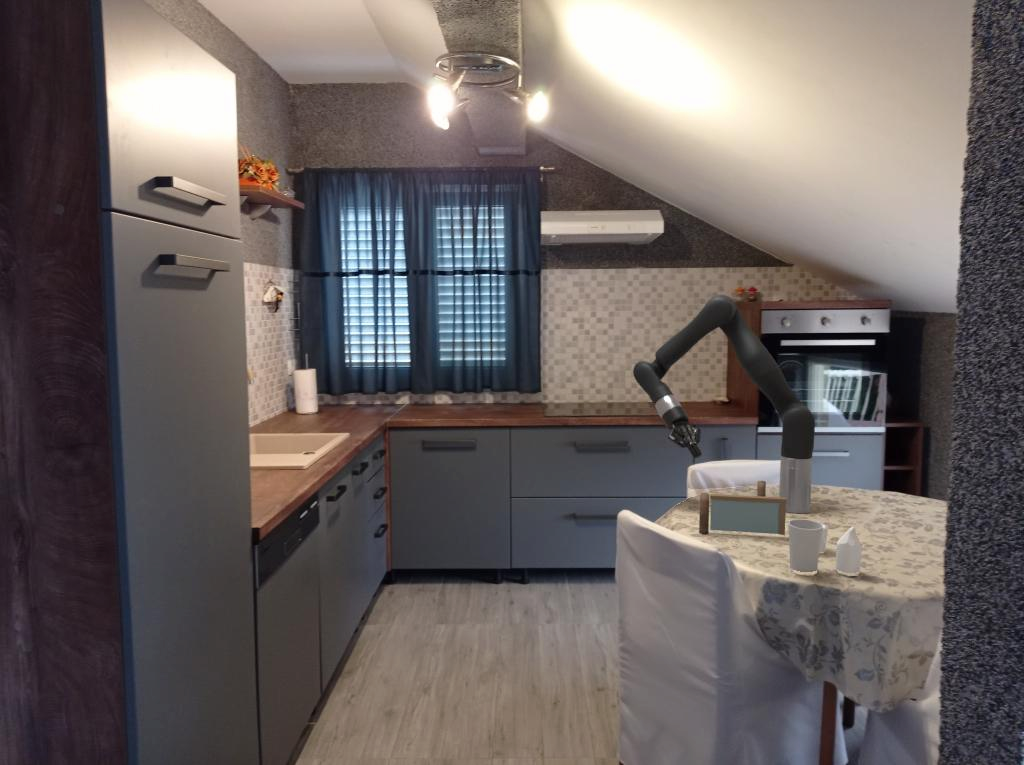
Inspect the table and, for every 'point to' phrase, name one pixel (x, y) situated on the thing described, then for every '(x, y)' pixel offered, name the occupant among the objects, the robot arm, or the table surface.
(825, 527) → the shot glass
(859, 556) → the white pointed prism
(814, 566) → the cup
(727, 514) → the gate
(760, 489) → the gate posts
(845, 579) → the table surface
